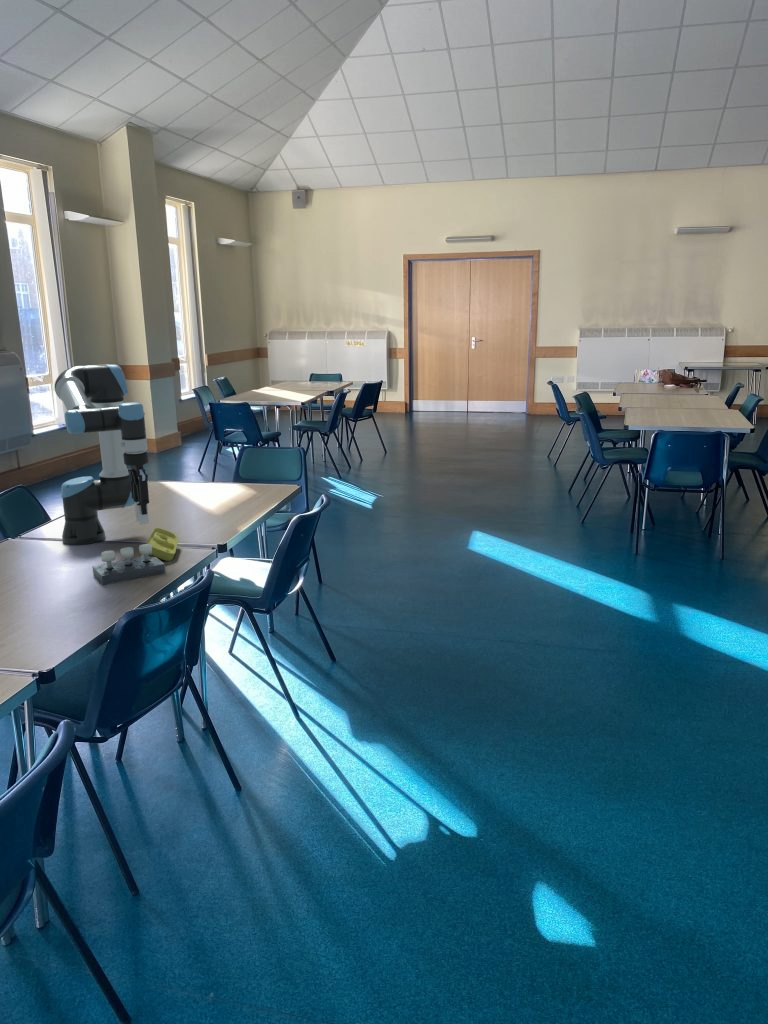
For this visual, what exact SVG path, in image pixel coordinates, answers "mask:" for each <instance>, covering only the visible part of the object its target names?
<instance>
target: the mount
mask: <svg viewBox="0 0 768 1024" xmlns="http://www.w3.org/2000/svg"><path fill="white" fill-rule="evenodd" d="M148 557H149V561H147V562H145V561H144V557H141V556H140V557H139V556H138V557H132V558H130V563H131V564H130V565H126V559H124V560H118V561H111V564H112V568H111V569H107V562H105V563H102V564H96V565H92V574H93V576H94V577H95V578H96V580H98V581H99V582H100V584H101V585H102V586H106V585H111V584H115V583H120V582H121V583H122V582H127V581H130V580H136V579H141V578H145V577H150V576H156V575H159V574H164V573H166V568H165V567H166V566H165V563H164V562H163V561H161V559H160V558H157V557H155V556H154V555H149V556H148Z"/></svg>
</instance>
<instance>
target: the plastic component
mask: <svg viewBox="0 0 768 1024" xmlns="http://www.w3.org/2000/svg"><path fill="white" fill-rule="evenodd" d="M178 543H179V538H178V536H177V535H176V534H175V533H174V532H172V531H170V530H167V529H165V528H162V527H159V526H158V527H155V528H153V531H152V533H151V534H150V537H149V539H148V540H147V542H146V544H151V546H152V553H151V554H148V556H149V555H154V556H155V557H157V558H158V559H159V560H164V561H167V562H171V561H172V560H173V559H174V558H175V557H174V556H175V554H176V552H177V547H178ZM140 557H144V555H140Z"/></svg>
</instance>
